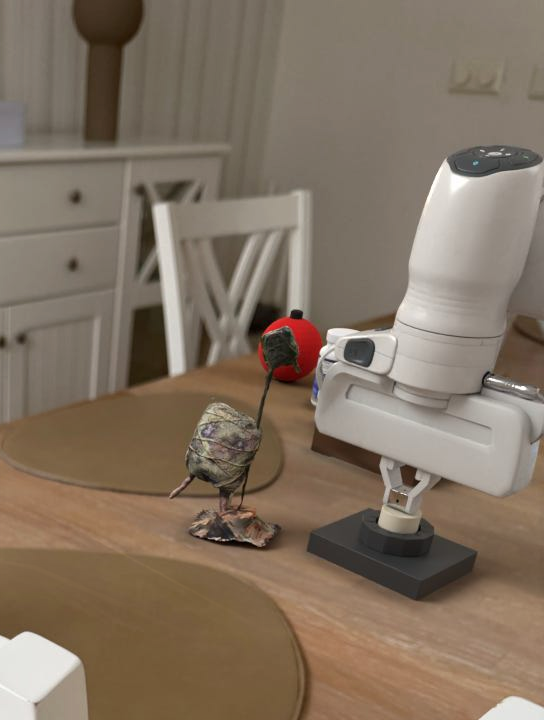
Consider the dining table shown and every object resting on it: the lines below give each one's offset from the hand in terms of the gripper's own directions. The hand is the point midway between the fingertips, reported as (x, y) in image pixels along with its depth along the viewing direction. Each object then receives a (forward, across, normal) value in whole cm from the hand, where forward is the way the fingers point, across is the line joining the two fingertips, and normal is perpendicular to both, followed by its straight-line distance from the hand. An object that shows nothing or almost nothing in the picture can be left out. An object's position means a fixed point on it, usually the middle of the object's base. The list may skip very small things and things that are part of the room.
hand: (400, 507), depth 91 cm
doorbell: (+6, 0, 0) cm, 6 cm away
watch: (+6, +25, -28) cm, 38 cm away
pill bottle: (+6, +32, -36) cm, 48 cm away
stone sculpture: (+6, +14, +8) cm, 17 cm away
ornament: (+6, +43, -40) cm, 59 cm away
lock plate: (+6, +16, -24) cm, 29 cm away
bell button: (+2, 0, 0) cm, 2 cm away
